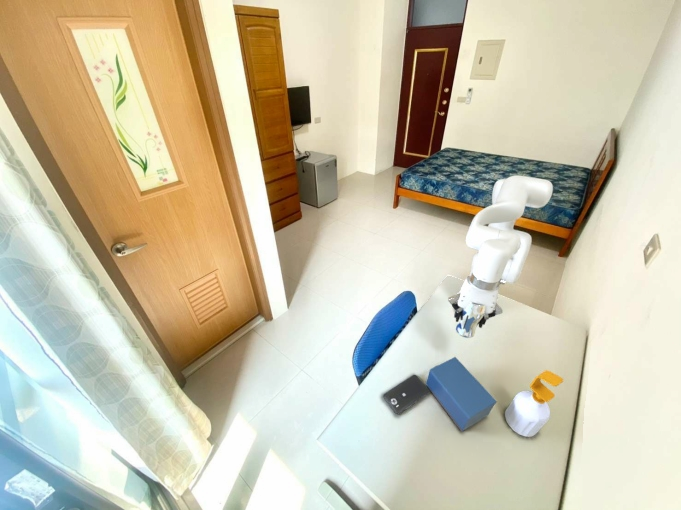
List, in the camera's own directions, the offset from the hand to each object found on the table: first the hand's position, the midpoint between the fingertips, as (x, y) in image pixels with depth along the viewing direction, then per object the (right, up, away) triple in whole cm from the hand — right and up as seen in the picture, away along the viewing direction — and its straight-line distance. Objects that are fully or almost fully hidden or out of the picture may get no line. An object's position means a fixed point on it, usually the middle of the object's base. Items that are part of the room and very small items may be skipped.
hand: (468, 321), depth 91 cm
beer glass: (0, -4, +3) cm, 5 cm away
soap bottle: (+15, -31, -3) cm, 35 cm away
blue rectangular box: (-4, -27, +2) cm, 28 cm away
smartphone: (-19, -26, +4) cm, 33 cm away
